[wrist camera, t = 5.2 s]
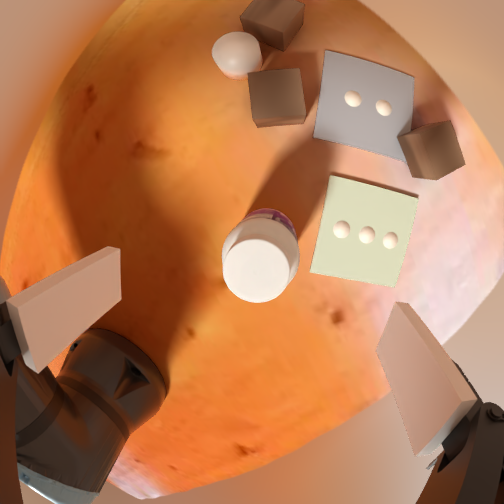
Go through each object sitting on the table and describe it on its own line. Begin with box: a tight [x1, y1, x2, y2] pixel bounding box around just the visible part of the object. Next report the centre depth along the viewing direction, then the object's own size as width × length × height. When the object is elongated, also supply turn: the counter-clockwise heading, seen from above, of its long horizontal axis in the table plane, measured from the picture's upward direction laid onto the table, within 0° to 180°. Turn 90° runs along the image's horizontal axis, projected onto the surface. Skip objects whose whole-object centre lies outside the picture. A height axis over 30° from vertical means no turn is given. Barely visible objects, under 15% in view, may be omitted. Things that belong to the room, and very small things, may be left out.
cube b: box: [240, 0, 305, 51], centre depth 18 cm, size 4×4×4 cm
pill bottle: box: [222, 208, 300, 303], centre depth 20 cm, size 5×5×10 cm
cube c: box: [397, 121, 465, 180], centre depth 19 cm, size 4×4×4 cm
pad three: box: [310, 175, 419, 287], centre depth 24 cm, size 9×9×1 cm
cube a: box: [247, 68, 306, 128], centre depth 20 cm, size 4×4×4 cm
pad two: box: [313, 50, 414, 162], centre depth 20 cm, size 9×9×1 cm
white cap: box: [212, 31, 263, 80], centre depth 19 cm, size 4×4×3 cm
